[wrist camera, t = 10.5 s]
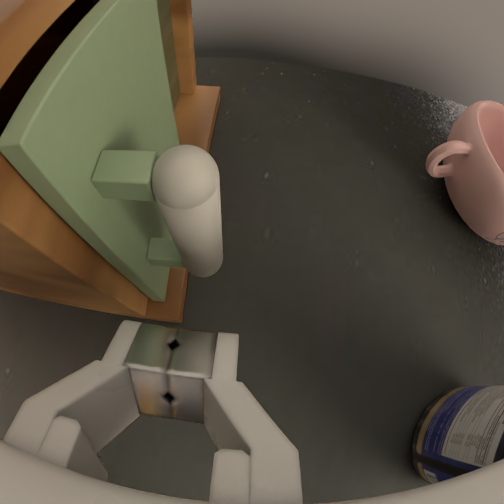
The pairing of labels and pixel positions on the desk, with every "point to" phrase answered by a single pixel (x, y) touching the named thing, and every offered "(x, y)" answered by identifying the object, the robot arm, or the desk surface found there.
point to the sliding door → (119, 150)
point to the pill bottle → (459, 433)
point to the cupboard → (39, 211)
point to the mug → (475, 168)
